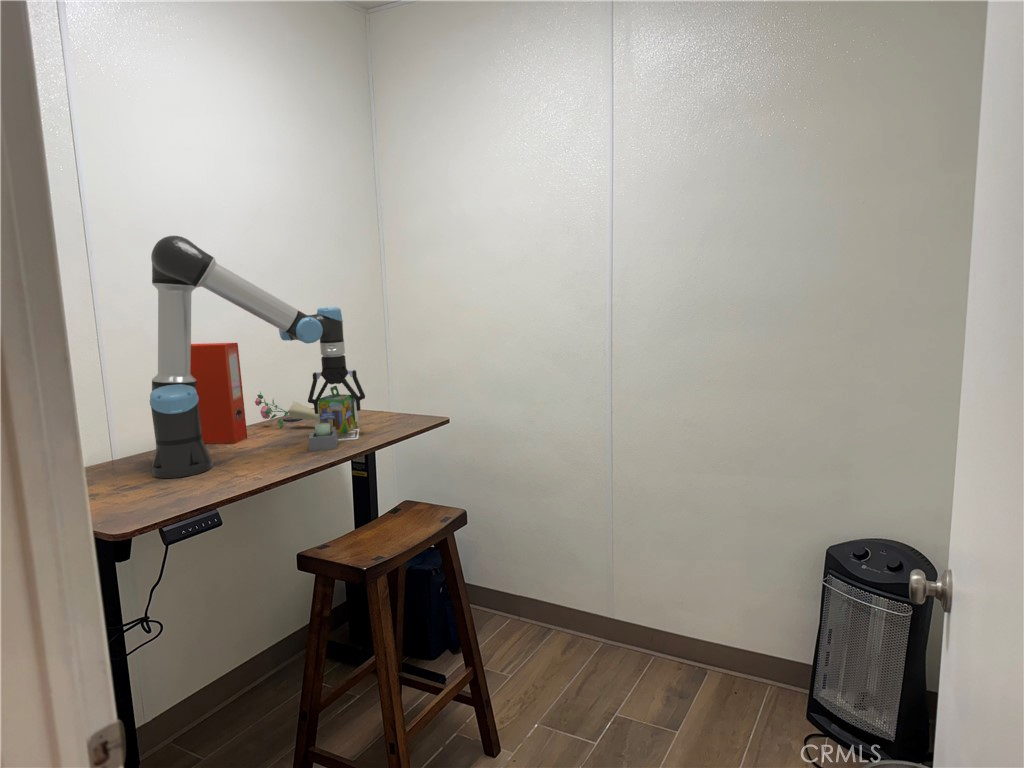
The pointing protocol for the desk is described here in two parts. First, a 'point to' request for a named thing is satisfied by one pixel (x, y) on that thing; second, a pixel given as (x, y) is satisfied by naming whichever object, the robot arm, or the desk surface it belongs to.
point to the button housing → (323, 441)
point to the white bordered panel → (349, 435)
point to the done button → (322, 429)
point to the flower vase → (295, 411)
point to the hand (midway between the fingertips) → (338, 422)
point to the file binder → (219, 392)
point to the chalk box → (338, 411)
